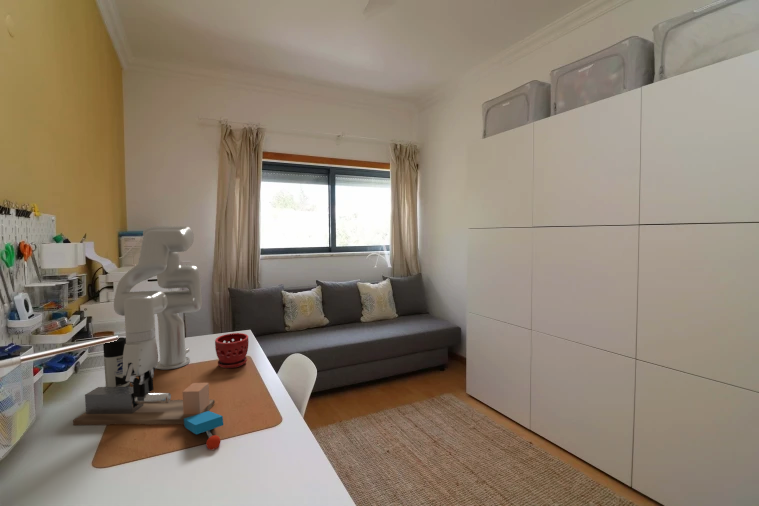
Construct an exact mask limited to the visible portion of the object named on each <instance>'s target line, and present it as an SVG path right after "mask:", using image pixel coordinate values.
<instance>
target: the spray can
mask: <svg viewBox="0 0 759 506" xmlns="http://www.w3.org/2000/svg"><path fill="white" fill-rule="evenodd" d="M125 344H126V337H120V338H119V339H118V340H117V341H114V342H110V343H105V344H103V343H102V345H103V347H102V348H103V349H102V350H103V363H104V379H105V387H131V383H130V382H126V381H125V380H126V376H124V375H123V352H124V346H125Z"/></svg>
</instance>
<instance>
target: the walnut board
mask: <svg viewBox="0 0 759 506" xmlns="http://www.w3.org/2000/svg"><path fill="white" fill-rule="evenodd" d="M215 402H216V401H215V399H209V405H208V406H207V407H206V408H205V409H204V410H203V411H202V412H201V413H203V412H207V411H210V409H212V407H213V406H214V405H215V404H216V403H215ZM214 403H215V404H214ZM213 404H214V405H213ZM212 405H213V406H212ZM194 415H197V414H183V399H170V401H169V403H163V404H144V405H143V406H142V407H141V408H139V409H138V410H137V411H135V412H134V413H133V414H86V411H85V412H84V413H83V414H80V415H78V417H75V418H74V419H73V420H72V425H73V426H107V425H108V426H109V425H110V424H145V425H184V418H187V417H191V416H194ZM110 426H111V425H110Z"/></svg>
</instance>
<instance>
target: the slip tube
mask: <svg viewBox="0 0 759 506" xmlns="http://www.w3.org/2000/svg"><path fill="white" fill-rule="evenodd" d="M143 383H145V396H144V397H134V395H133V404H163V403H169V401H170V400H172V399H171V398H172V394H171V393H170V392H151V391H150V381H149V378H143Z"/></svg>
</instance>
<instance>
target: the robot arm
mask: <svg viewBox="0 0 759 506" xmlns="http://www.w3.org/2000/svg"><path fill="white" fill-rule="evenodd" d="M194 235H195V234H194V232H193V230H192V229H191V227H189V226H169V225H168V226H167V225H166V226H164V225H163V226H162V225H161V226H149V227H146V228H145V229H143V231H142V242H141V247H140V251H139V258H138V262H137V264H136V265H135V266H134V267H132V268H131V269H129V270H128V271H127V272H125V274H124V275H123V276H122V277H121V279H120V280H119V281H118V283H117V285H116V289H115V293H114V298H113V310H114V313H116V314H117V315H118V316H123V317H124V325H125V326H124V327H125V328H124V329H125V338H126V344H125V346H124V352H123V375H124V376H126V380H125V381H126V382H130V385H132V387H133V393H134V397H144V396H145V383H143V378H149V381H150V392H153V391H154V376H155V373H154V372H155V370H156V369H157V370H163V371H164V370H174V369H178V368H182V367H185V366H186V365H188V364H190V361H191V359H190V357H188V356H187V353H190V348H188V347H187V348H186V337H185V336H186V335H185V333H186V331H185V321H184V319H183V318H182V317H181V316H180V315H179V314H182V313H183V314H184V313H185V314H186V313H196V312H199V311H200V310H201V308H202V306H203V296H202V280H201V278H202V277H201V273H200V268H198V267H197V266H196V265H189V264H188V265H187V264H186V265H181V262H180V261H181V260H180V254H179V252H180V253H181V252H182V253H183V252H187V251H188V250H189V249H190V248H191V247H192V245H193V243H194V238H195V236H194ZM153 277H156V281H157V284H158V286H159V288H161V289H166V290H167V289H183V290H169V291H161V290H148V291H147V290H146V291H145V290H142V291H140V290H139V291H131V290H132V289H133V288H134V287H135V286H136V285H138V284H140V283H141V282H144V281H147V280H148V279H151V278H153ZM186 289H187V290H186ZM155 315H157V316H156V317H157V326H158V344H157V339H156V323H155V322H156V320H155ZM158 348H159V351H158Z"/></svg>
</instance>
